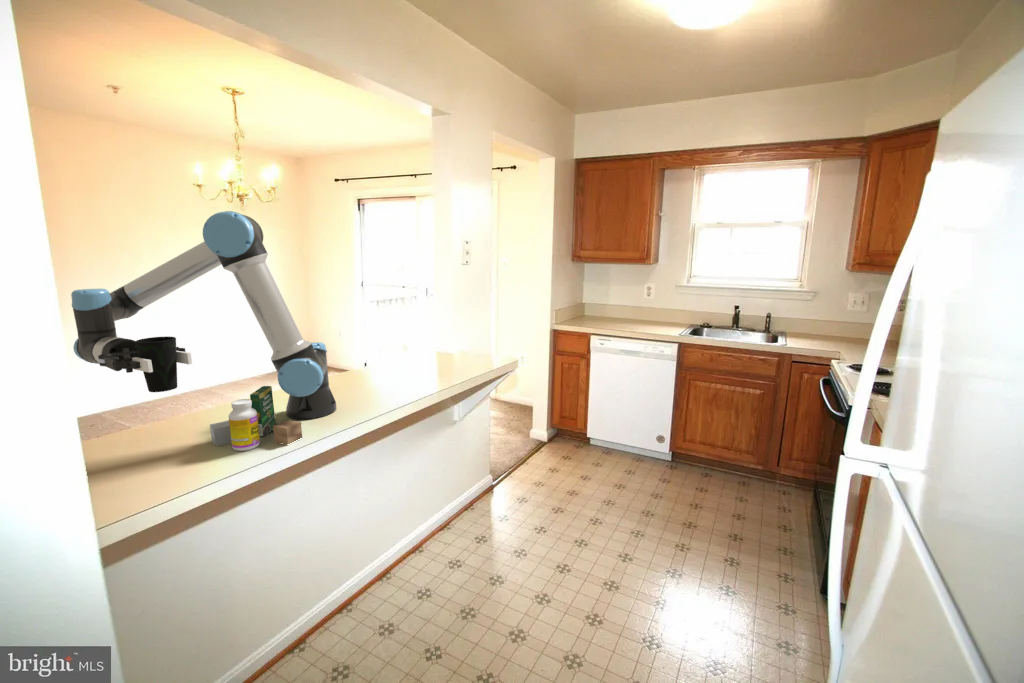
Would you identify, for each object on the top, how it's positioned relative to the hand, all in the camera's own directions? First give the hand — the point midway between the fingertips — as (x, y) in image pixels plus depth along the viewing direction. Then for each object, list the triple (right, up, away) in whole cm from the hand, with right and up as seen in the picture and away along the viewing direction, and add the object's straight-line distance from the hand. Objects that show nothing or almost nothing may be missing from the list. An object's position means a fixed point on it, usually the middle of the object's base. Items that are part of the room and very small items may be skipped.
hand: (170, 362), depth 108 cm
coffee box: (+7, -22, +29) cm, 37 cm away
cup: (-4, -7, +4) cm, 9 cm away
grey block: (-1, -23, +23) cm, 32 cm away
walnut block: (+16, -23, +23) cm, 36 cm away
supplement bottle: (+7, -24, +19) cm, 31 cm away
